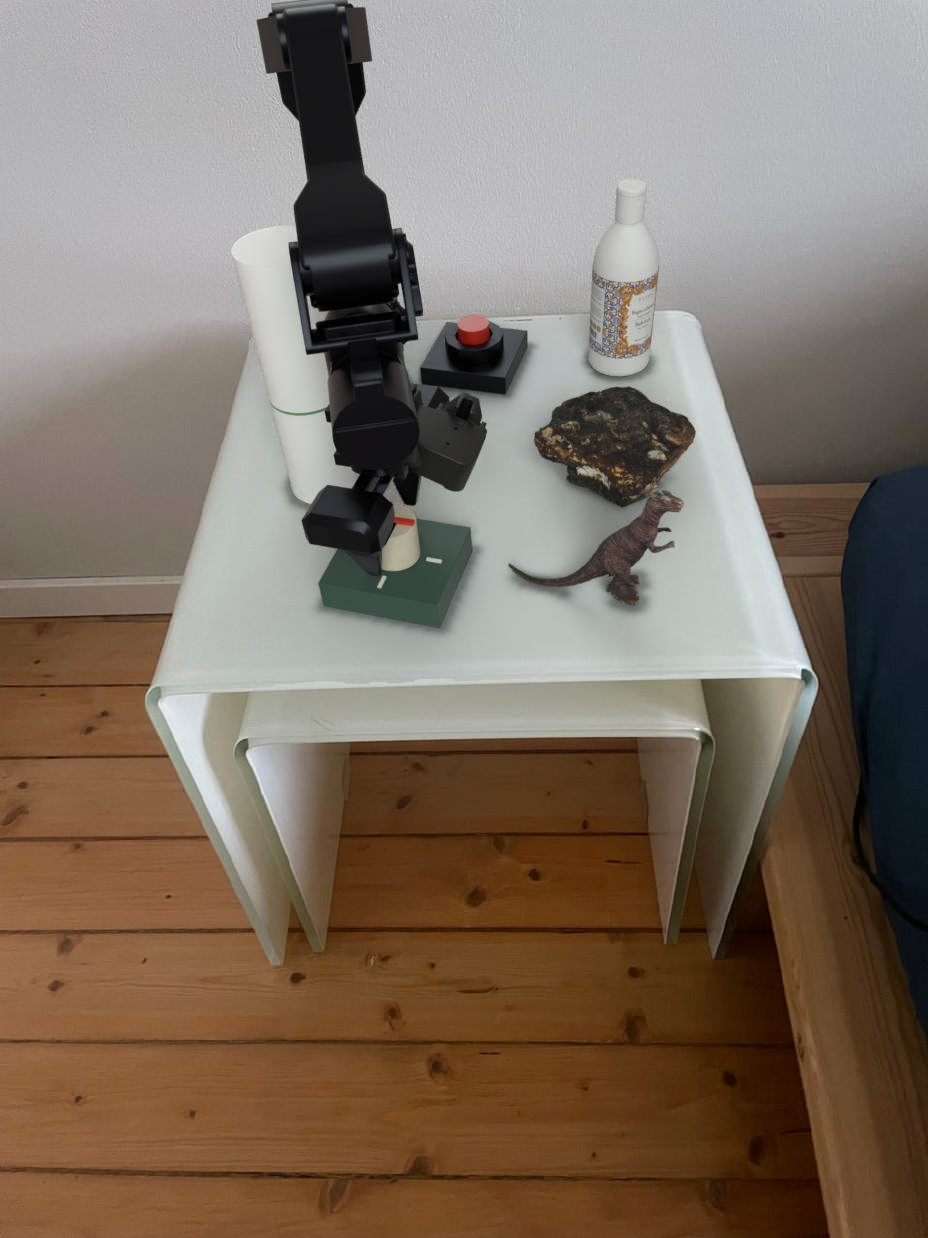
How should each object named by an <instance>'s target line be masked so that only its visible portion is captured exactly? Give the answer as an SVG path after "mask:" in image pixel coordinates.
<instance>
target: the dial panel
mask: <svg viewBox="0 0 928 1238" xmlns="http://www.w3.org/2000/svg"><path fill="white" fill-rule="evenodd" d="M416 521H417V529H418V537H419V544H420V557H419V559H418V560H417V562H416V563H415V564H414V565H412V566H411V567H409V568H407V569H404V570H400V571H386V570H383V569H382V573H381V575H380V576H373V575H369V574H368V573H367V572H366V571H365V570H364V569H363V568H361V567H360V566H359V565H358V564H357V563H356V562H355V561H354V560H353V559H352V558H351V557H350V556H349V555H348V554H347V553H346V552H345V551H344V550H341V549H335V552H334V553H333V556H332V557H331V559H330V560H329V563H328V564H327V566H326V568H325V570H324V572H323V574H322V576H321V577H320V578H319V580H318V583H317V584H318V589H319V593H320V597H321V601H322V605H323V607H326V608H330V609H331V608H332V609H336V610H341V611H346V612H352V613H357V614H363V615H367V616H373V617H377V618H384V619H388V620H395V621H399V622H405V623H410V624H416V625H421V626H426V627H430V628H435V629H440V628H442V624H443V622H444V619H445V617H446V615H447V612H448V610H449V608H450V605H451V603H452V600H453V598H454V596H455V593H456V591H457V589H458V586H459V583H460V581H461V580H462V576H463V574H464V571H465V569H466V567H467V565H468V562H469V560H470V558H471V554H472V552H473V539H472V528H471V527H470V526H465V525H459V524H452V523H446V522H441V521H440V522H439V521H434V520H428V519H421V518H416Z"/></svg>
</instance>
